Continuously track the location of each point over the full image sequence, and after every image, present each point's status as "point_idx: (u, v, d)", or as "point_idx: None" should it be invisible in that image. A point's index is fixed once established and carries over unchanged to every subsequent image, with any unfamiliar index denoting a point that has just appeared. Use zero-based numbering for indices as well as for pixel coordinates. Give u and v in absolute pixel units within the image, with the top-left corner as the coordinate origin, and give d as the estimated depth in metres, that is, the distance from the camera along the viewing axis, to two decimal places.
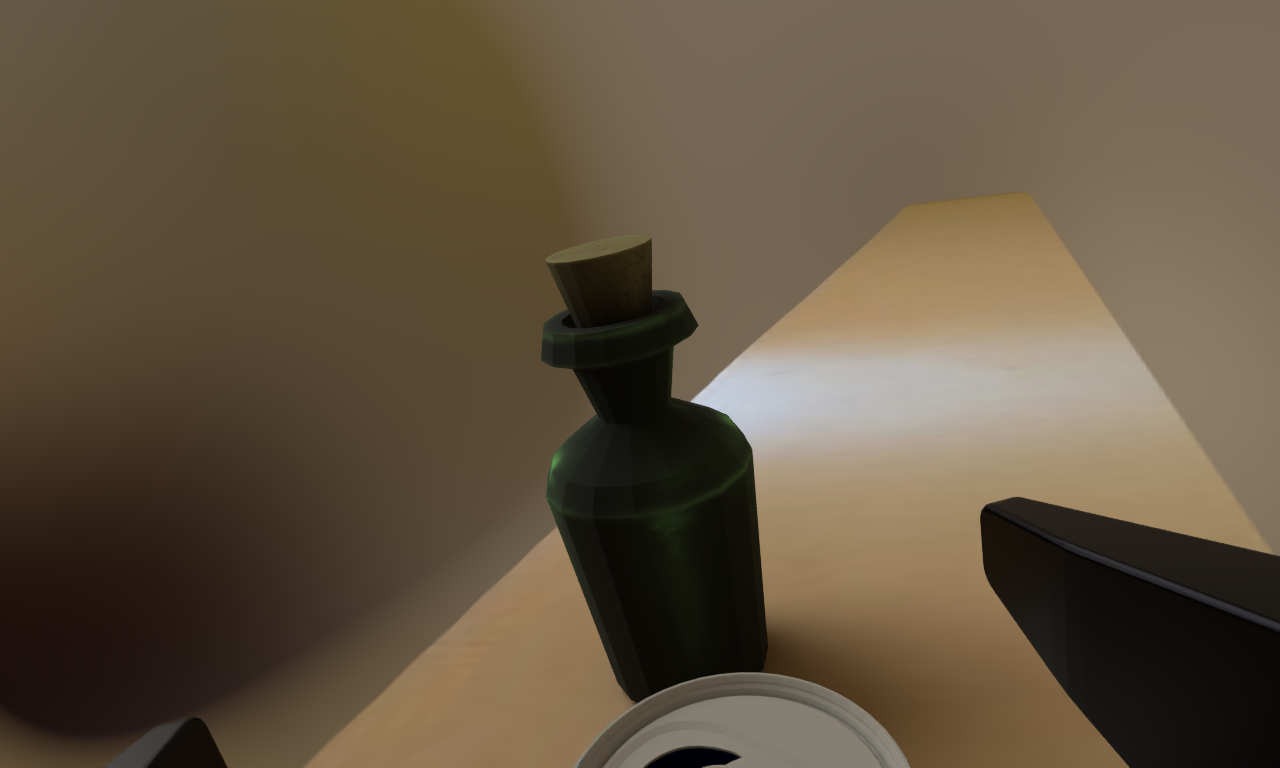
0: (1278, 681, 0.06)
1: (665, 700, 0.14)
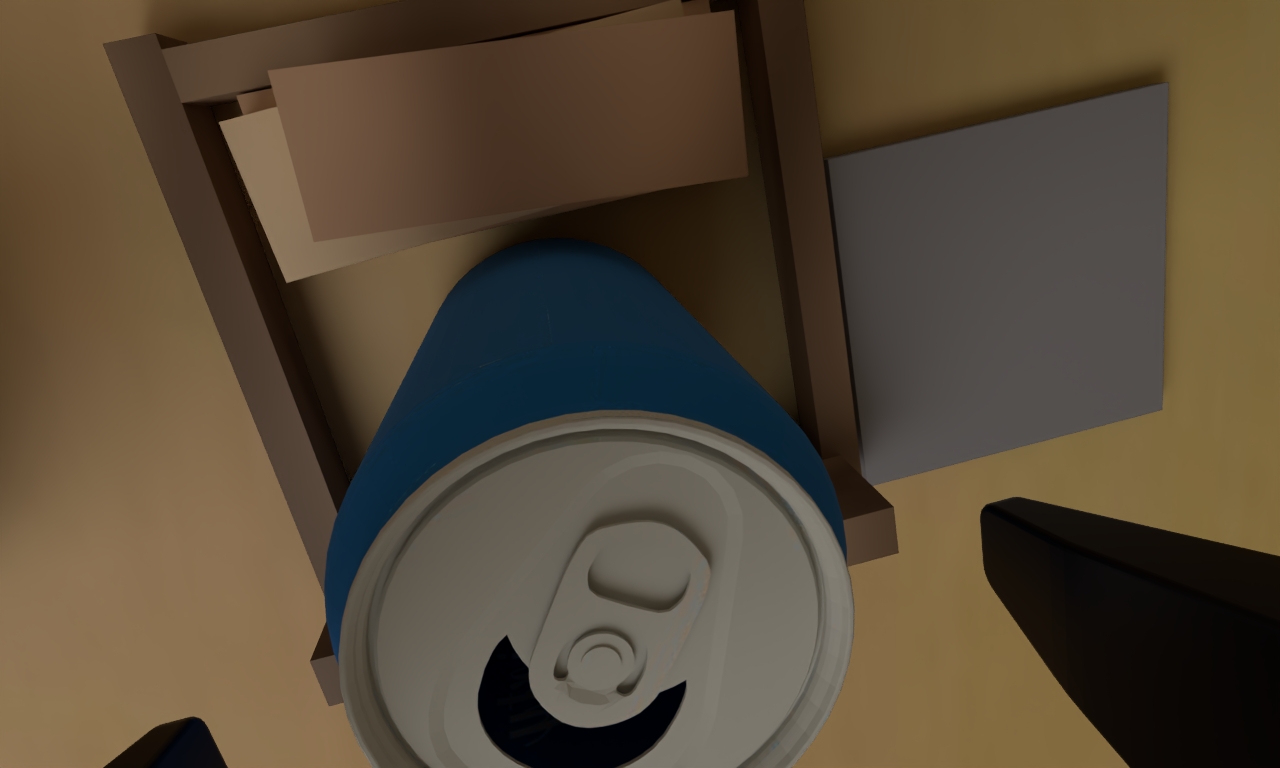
0: (1278, 681, 0.06)
1: (383, 756, 0.08)
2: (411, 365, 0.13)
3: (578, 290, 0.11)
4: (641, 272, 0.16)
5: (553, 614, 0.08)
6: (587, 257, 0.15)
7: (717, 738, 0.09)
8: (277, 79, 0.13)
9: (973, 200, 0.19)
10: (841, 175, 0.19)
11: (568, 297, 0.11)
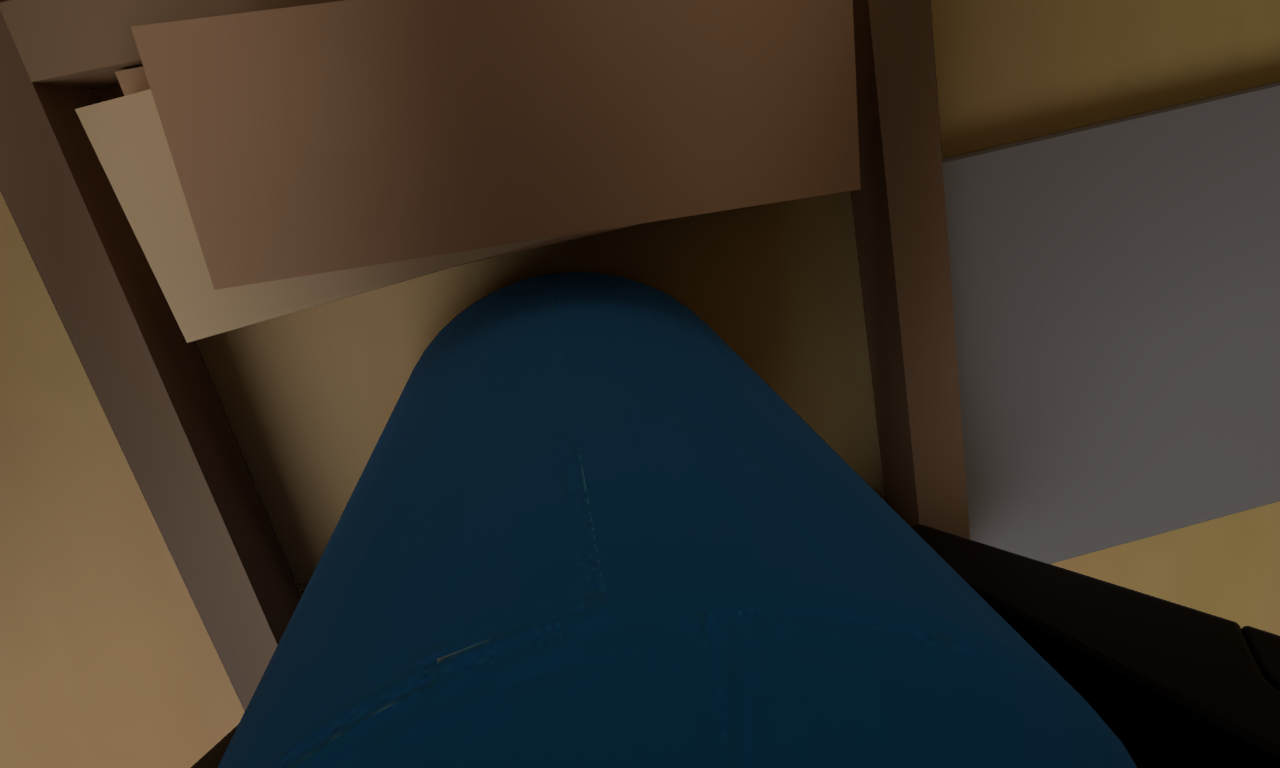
0: (1126, 727, 0.05)
1: None
2: (352, 497, 0.08)
3: (627, 394, 0.07)
4: (699, 327, 0.11)
5: None
6: (624, 309, 0.10)
7: None
8: (147, 41, 0.09)
9: (1127, 217, 0.15)
10: (957, 184, 0.14)
11: (613, 415, 0.06)
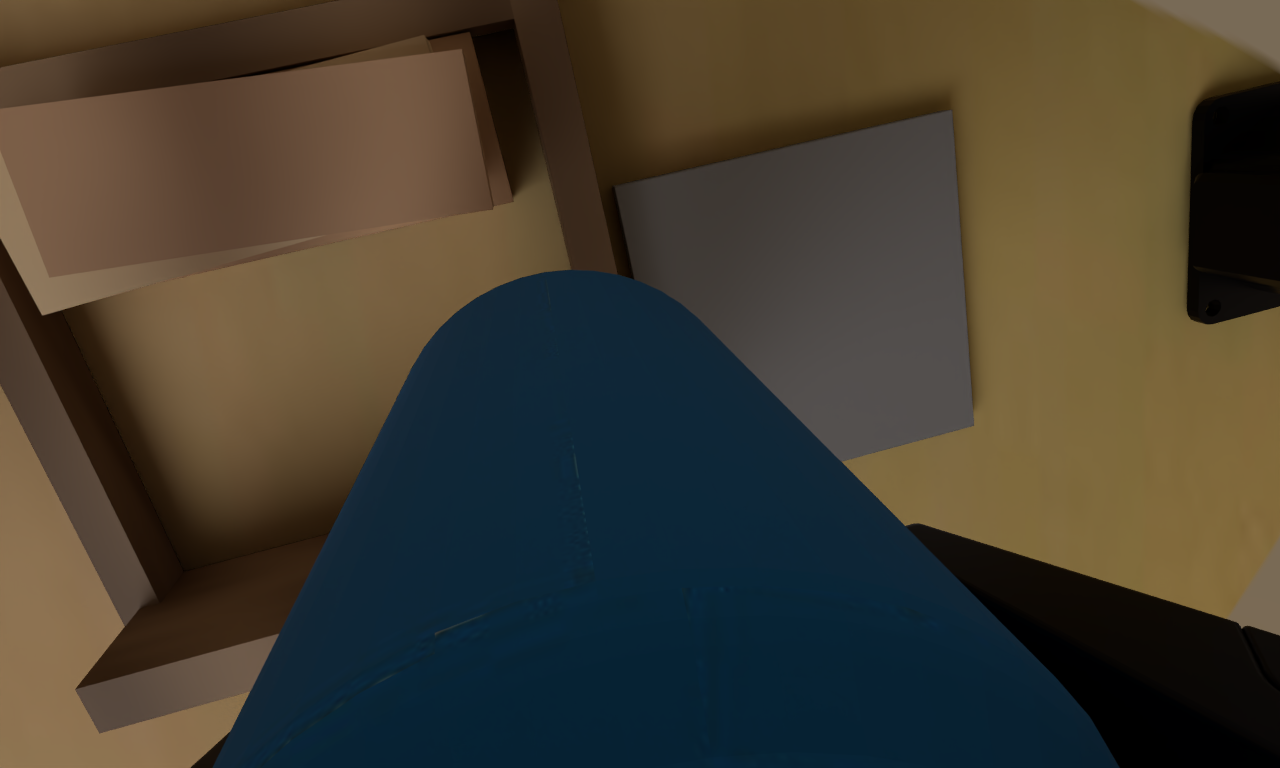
0: (1127, 726, 0.05)
1: None
2: (353, 489, 0.08)
3: (620, 387, 0.07)
4: (693, 324, 0.11)
5: None
6: (619, 306, 0.10)
7: None
8: None
9: (765, 224, 0.20)
10: (629, 202, 0.19)
11: (606, 407, 0.06)
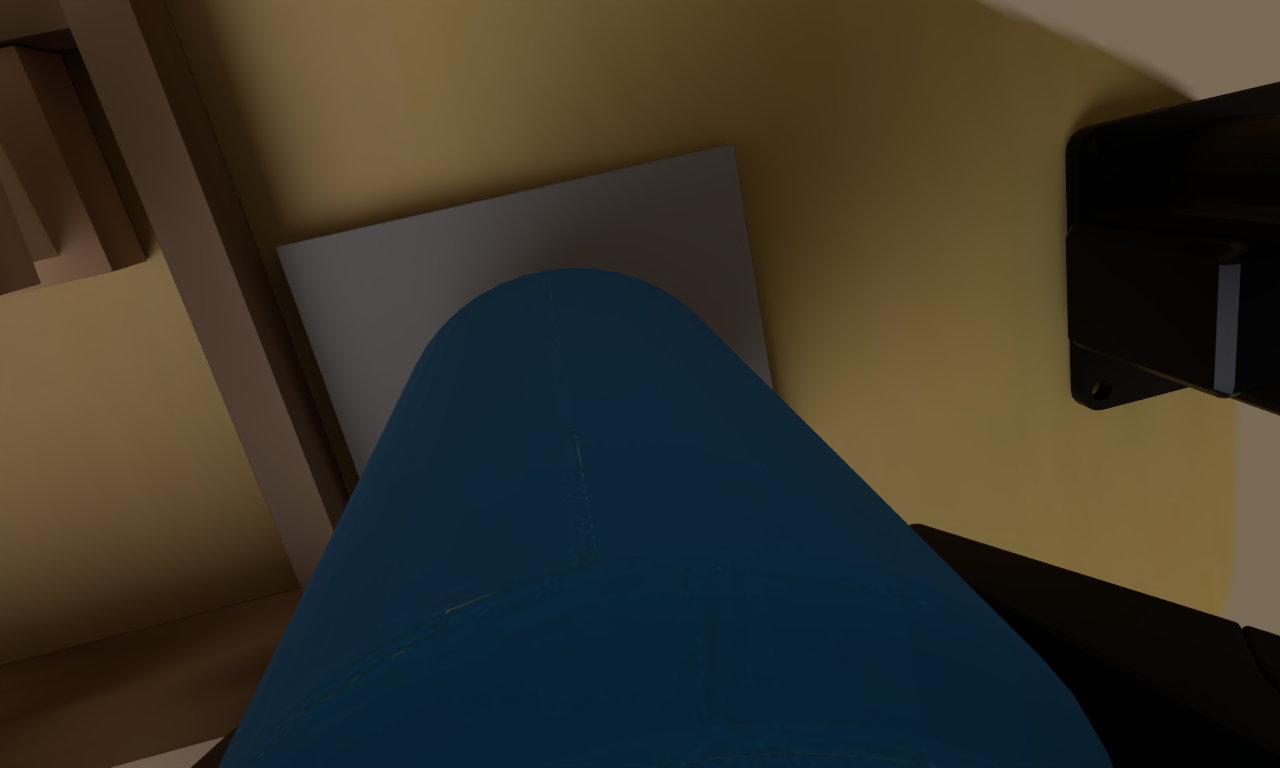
0: (1126, 726, 0.05)
1: None
2: (359, 481, 0.08)
3: (621, 381, 0.07)
4: (693, 321, 0.11)
5: None
6: (620, 303, 0.11)
7: None
8: None
9: None
10: (298, 266, 0.15)
11: (608, 400, 0.07)
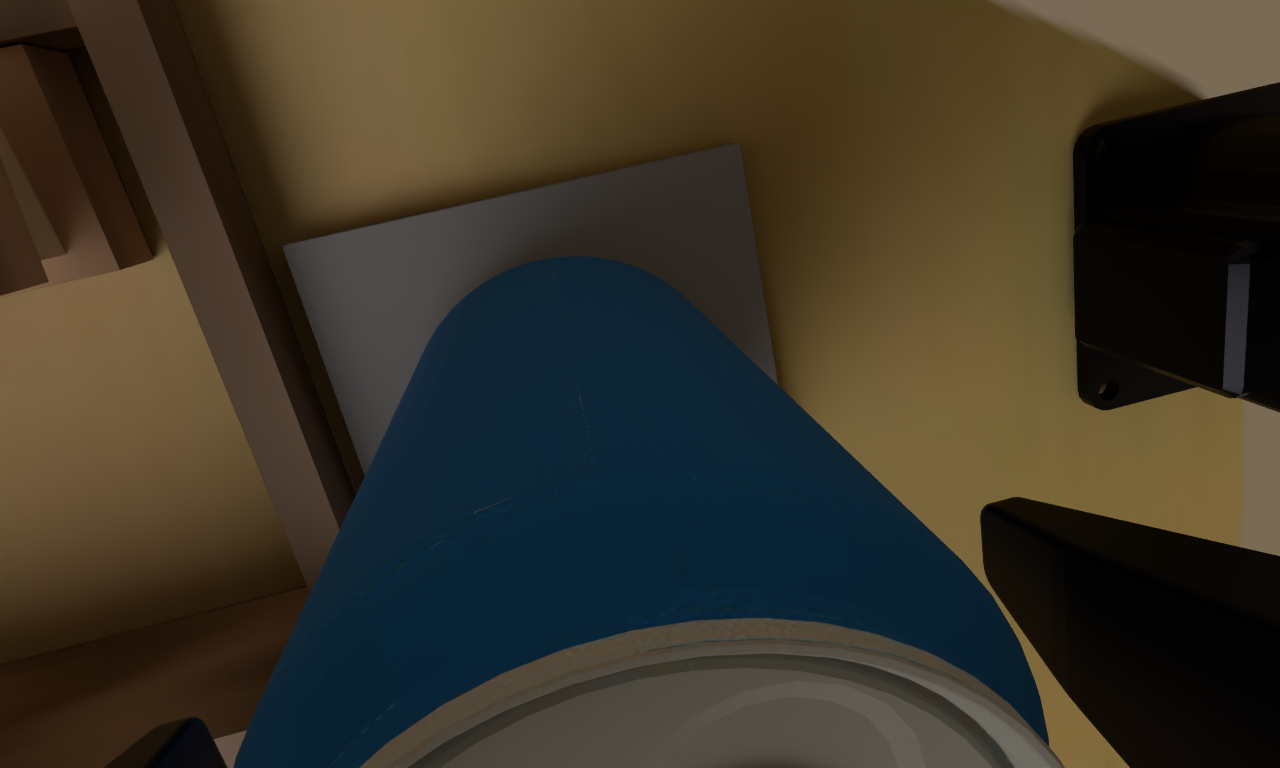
0: (1278, 681, 0.06)
1: None
2: (383, 441, 0.09)
3: (617, 347, 0.08)
4: (684, 303, 0.12)
5: None
6: (616, 286, 0.12)
7: None
8: None
9: None
10: (304, 265, 0.15)
11: (605, 361, 0.08)
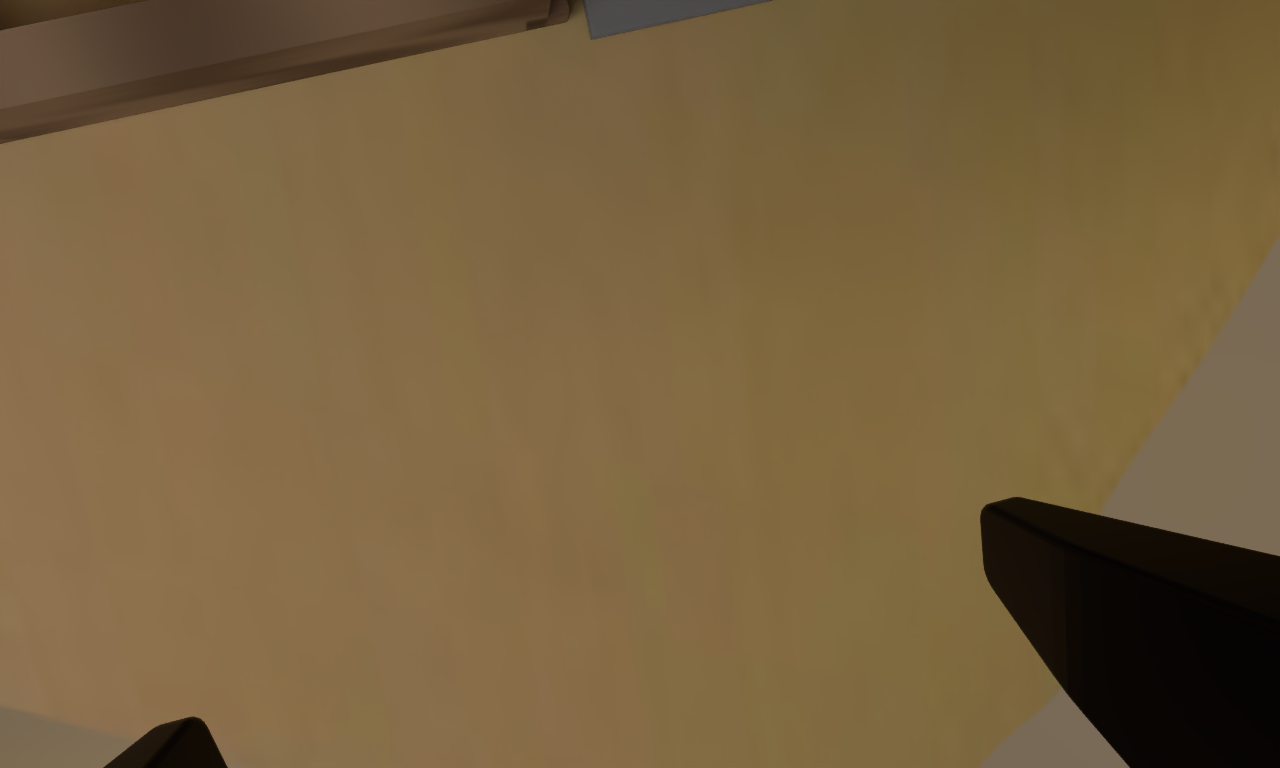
0: (1278, 681, 0.06)
1: None
2: None
3: None
4: None
5: None
6: None
7: None
8: None
9: None
10: None
11: None
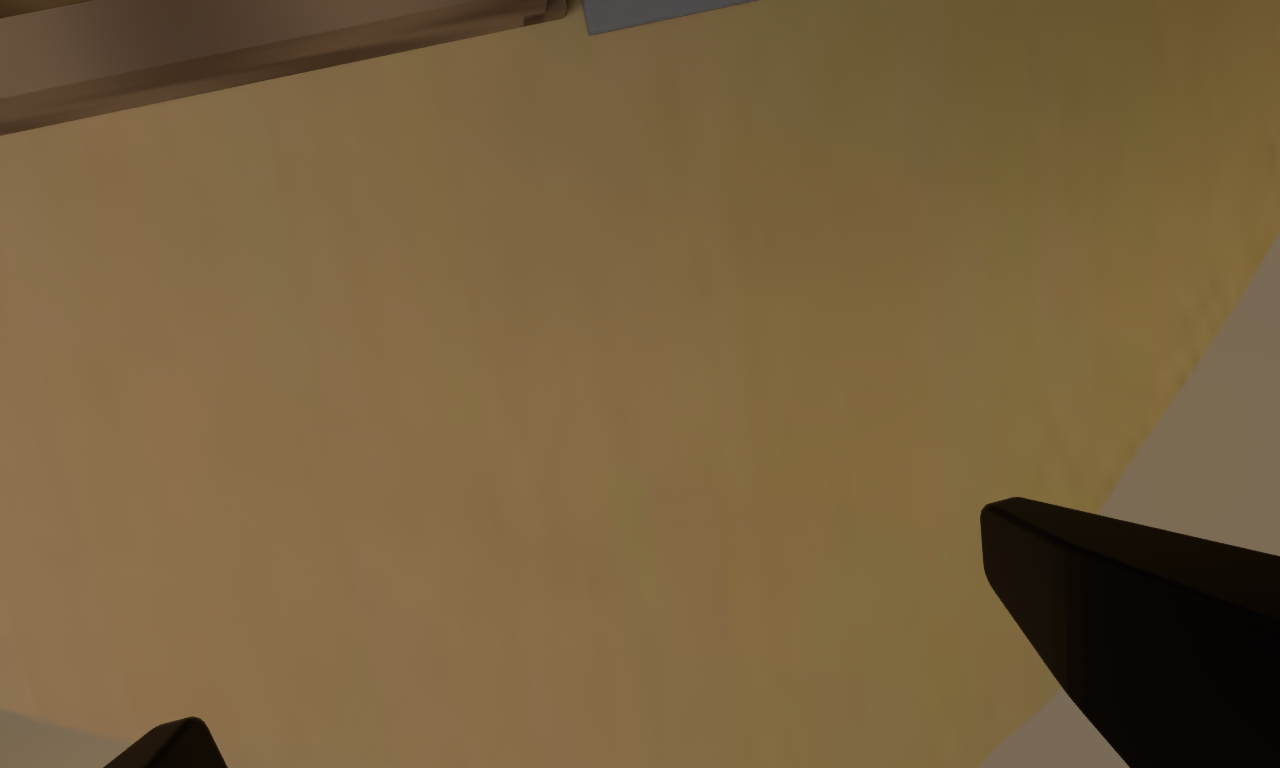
0: (1279, 681, 0.06)
1: None
2: None
3: None
4: None
5: None
6: None
7: None
8: None
9: None
10: None
11: None
